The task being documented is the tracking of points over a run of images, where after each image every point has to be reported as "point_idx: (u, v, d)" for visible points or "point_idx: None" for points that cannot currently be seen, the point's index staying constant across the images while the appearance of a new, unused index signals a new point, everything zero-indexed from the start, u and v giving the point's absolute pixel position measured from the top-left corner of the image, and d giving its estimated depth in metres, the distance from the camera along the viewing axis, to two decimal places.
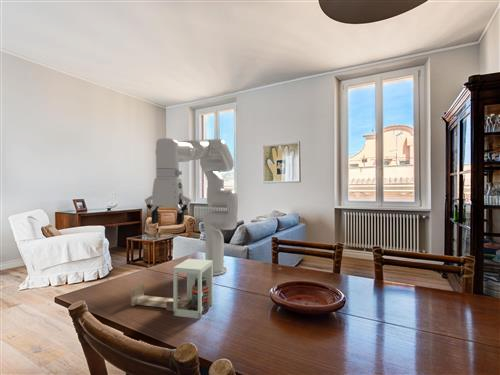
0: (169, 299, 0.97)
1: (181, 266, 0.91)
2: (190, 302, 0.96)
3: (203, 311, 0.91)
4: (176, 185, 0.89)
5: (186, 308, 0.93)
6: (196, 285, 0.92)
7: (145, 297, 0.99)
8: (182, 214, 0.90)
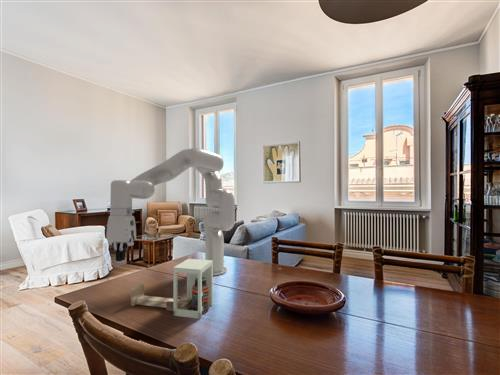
0: (169, 299, 0.97)
1: (181, 266, 0.91)
2: (190, 302, 0.96)
3: (203, 311, 0.91)
4: (127, 223, 0.98)
5: (186, 308, 0.93)
6: (196, 285, 0.92)
7: (145, 297, 0.99)
8: (123, 252, 1.00)
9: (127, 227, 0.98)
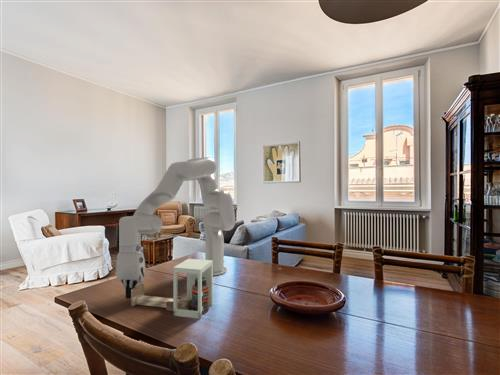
0: (169, 299, 0.97)
1: (181, 266, 0.91)
2: (190, 302, 0.96)
3: (203, 311, 0.91)
4: (137, 261, 0.97)
5: (186, 308, 0.93)
6: (196, 285, 0.92)
7: (145, 297, 0.99)
8: None
9: (136, 265, 0.97)
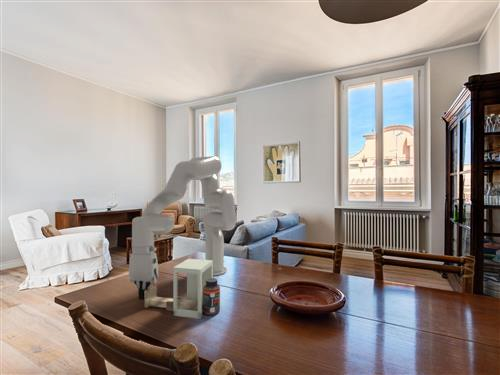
0: (183, 301, 0.96)
1: (181, 266, 0.91)
2: None
3: (215, 312, 0.90)
4: (150, 262, 0.96)
5: None
6: (207, 286, 0.91)
7: (159, 298, 0.97)
8: None
9: (150, 266, 0.96)
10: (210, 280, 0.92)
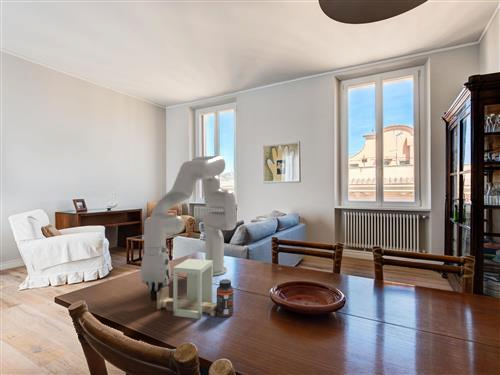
0: (196, 302, 0.95)
1: (181, 266, 0.91)
2: None
3: (228, 314, 0.89)
4: (163, 263, 0.95)
5: (215, 311, 0.90)
6: (221, 287, 0.90)
7: (171, 300, 0.96)
8: None
9: (162, 267, 0.95)
10: (224, 281, 0.91)
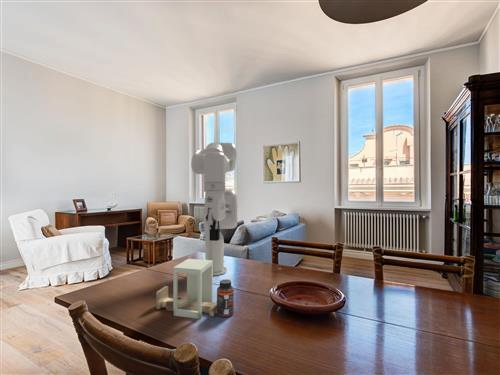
0: (195, 302, 0.95)
1: (181, 266, 0.91)
2: None
3: (228, 314, 0.89)
4: (205, 199, 0.88)
5: (214, 311, 0.90)
6: (221, 287, 0.90)
7: (170, 300, 0.96)
8: (212, 231, 0.91)
9: None
10: (224, 281, 0.91)
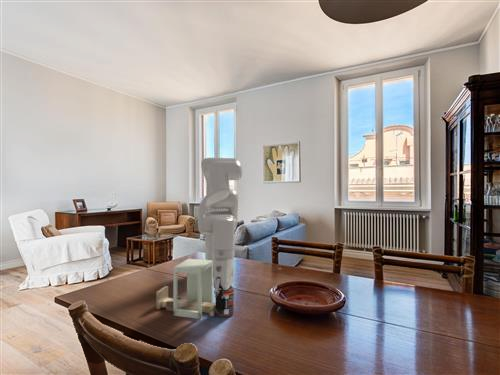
0: (195, 302, 0.95)
1: (181, 266, 0.91)
2: None
3: (228, 314, 0.89)
4: (214, 267, 0.88)
5: (214, 311, 0.90)
6: (221, 287, 0.90)
7: (170, 300, 0.96)
8: (218, 300, 0.87)
9: (213, 272, 0.88)
10: None
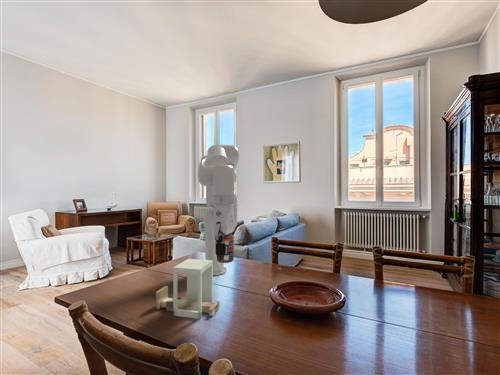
0: (195, 302, 0.95)
1: (181, 266, 0.91)
2: (217, 305, 0.94)
3: (228, 260, 0.89)
4: (214, 213, 0.88)
5: (214, 311, 0.90)
6: None
7: (170, 300, 0.96)
8: (218, 245, 0.88)
9: (213, 217, 0.88)
10: None
